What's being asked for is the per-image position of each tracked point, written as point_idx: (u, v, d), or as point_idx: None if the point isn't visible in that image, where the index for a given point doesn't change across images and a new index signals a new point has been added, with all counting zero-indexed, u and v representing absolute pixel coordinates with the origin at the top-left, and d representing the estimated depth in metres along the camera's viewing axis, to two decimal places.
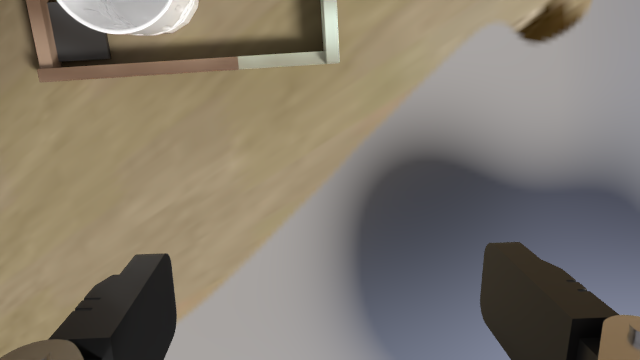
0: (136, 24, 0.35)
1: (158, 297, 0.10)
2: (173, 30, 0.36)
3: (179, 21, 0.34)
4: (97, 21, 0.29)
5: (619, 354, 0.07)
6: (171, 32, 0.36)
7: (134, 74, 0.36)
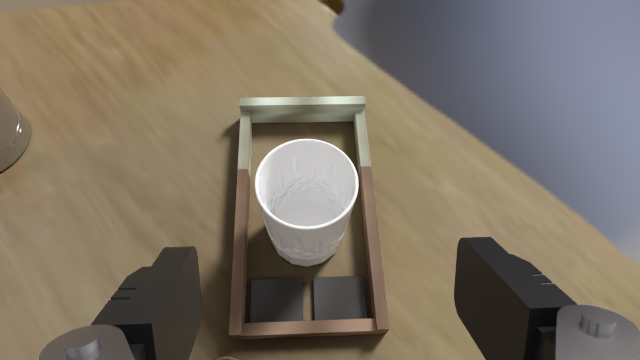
0: None
1: (188, 288, 0.11)
2: None
3: None
4: None
5: (574, 344, 0.07)
6: None
7: (378, 244, 0.41)
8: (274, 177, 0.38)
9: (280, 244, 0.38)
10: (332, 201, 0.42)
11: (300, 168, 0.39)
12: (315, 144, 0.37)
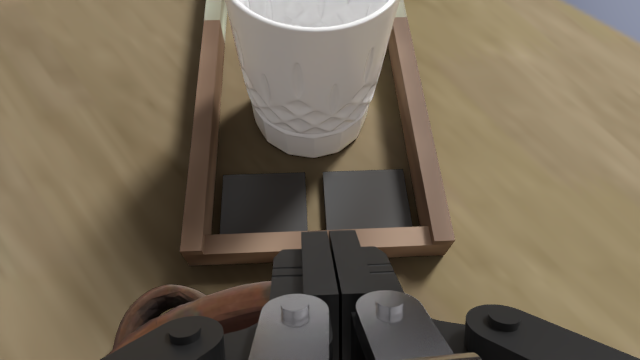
0: None
1: None
2: None
3: None
4: None
5: (381, 334, 0.07)
6: None
7: (426, 118, 0.25)
8: None
9: (268, 102, 0.22)
10: None
11: None
12: None
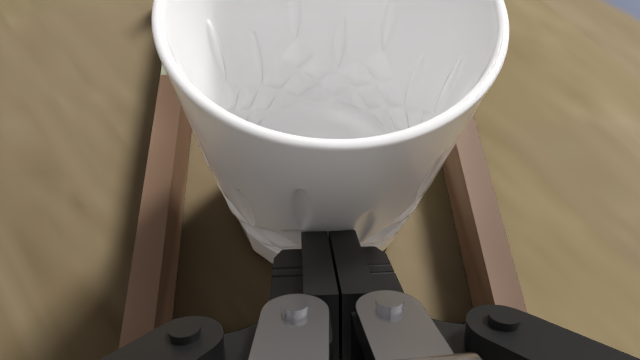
0: None
1: None
2: None
3: None
4: None
5: (381, 334, 0.07)
6: None
7: (504, 243, 0.16)
8: (236, 37, 0.14)
9: (251, 221, 0.13)
10: (384, 121, 0.17)
11: (307, 24, 0.15)
12: None
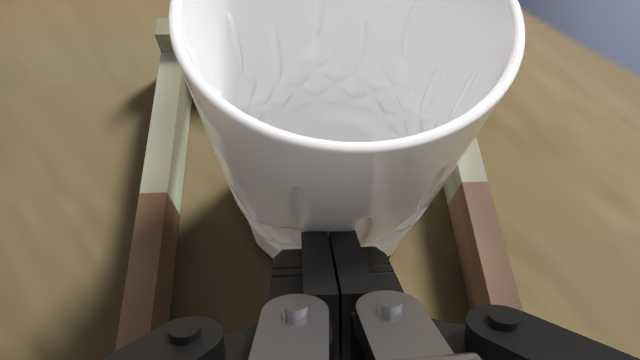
0: None
1: None
2: None
3: None
4: None
5: (381, 334, 0.07)
6: None
7: None
8: (256, 33, 0.14)
9: (253, 215, 0.13)
10: (398, 129, 0.17)
11: (329, 25, 0.15)
12: None
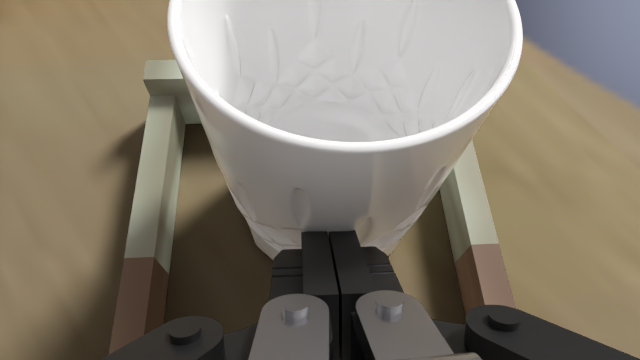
0: None
1: None
2: None
3: None
4: None
5: (381, 334, 0.07)
6: None
7: None
8: (253, 34, 0.14)
9: (253, 216, 0.13)
10: (396, 128, 0.17)
11: (326, 26, 0.15)
12: None
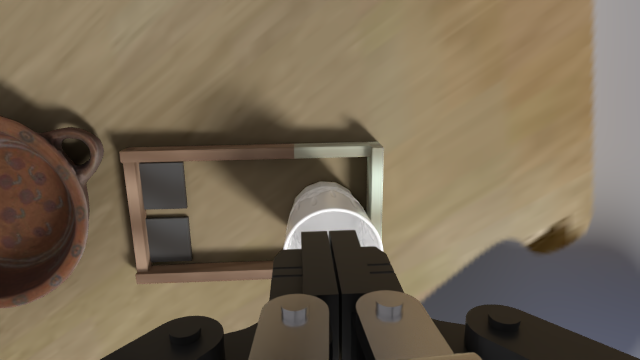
0: None
1: None
2: None
3: None
4: None
5: (381, 334, 0.07)
6: None
7: (213, 279, 0.44)
8: None
9: (298, 204, 0.40)
10: None
11: (369, 235, 0.39)
12: None
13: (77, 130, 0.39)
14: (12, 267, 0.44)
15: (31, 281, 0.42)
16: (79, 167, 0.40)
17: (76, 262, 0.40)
